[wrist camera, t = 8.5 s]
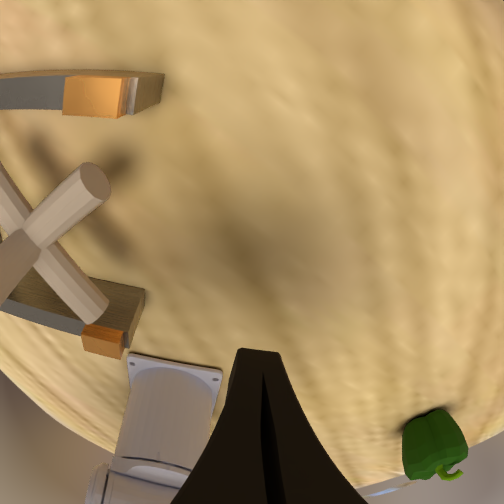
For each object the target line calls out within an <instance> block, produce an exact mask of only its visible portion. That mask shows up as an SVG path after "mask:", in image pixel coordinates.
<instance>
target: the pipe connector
mask: <svg viewBox="0 0 504 504" xmlns="http://www.w3.org/2000/svg"><path fill="white" fill-rule="evenodd" d="M110 194H111V188H110V183H109V181H108V179H107V177H106V175H105V173H104V172H103V171H102V170H101V169H100V168H99V167H98V166H97V165H95V164H93V163H91V162H86V163H82V164H81V165H80V166H79V167H78V168H77V169H76V170H74V171H73V172H72V173H71V174H70V175H69V176H68V177H67V178H66V179H65V180H64V181H62V182H61V183H60V184H59V185H58V186H57V187H56V188H55V189H54V190H53V191H52V192H51V193H50V194H49V195H48V196H47V197H46V198H45V199H44V200H43V201H42V202H41V203H40V204H39V205H38V206H37V207H36V208H35V209H34V210H33V208H32V207H31V206H30V204H29V203H28V202H27V200H26V199H25V197H24V196H23V195H22V193H21V192H20V190H19V189H18V187H17V186H16V185H15V183H14V182H13V180H12V179H11V177H10V176H9V174H8V173H7V171H6V170H5V168H4V166H3V165H2V163H1V162H0V225H1V226H2V227H3V229H4V230H5V231H6V233H7V234H8V235H9V236H8V237H7V238H6V239H5V240H4V241H3V242H2V243H1V244H0V306H1V305H2V304H3V302H4V301H5V300H6V298H7V297H8V296H9V295H10V293H11V292H12V291H13V289H14V288H15V287H16V286H17V284H18V283H19V282H20V281H21V279H22V278H23V277H24V276H25V275H26V273H27V272H28V271H29V270H30V269H31V267H32V266H33V267H34V268H35V269H36V270H37V272H38V273H39V274H40V275H41V276H42V277H43V279H44V280H45V281H46V282H47V283H48V284H49V285H50V287H51V288H52V289H53V290H54V291H55V292H56V293H57V294H58V295H59V296H60V298H61V299H62V300H63V301H64V302H65V303H66V304H67V305H68V306H69V307H70V308H71V309H72V310H73V311H74V312H75V313H76V314H77V315H78V316H79V317H80V318H81V319H82V320H83V321H84V322H85V323H86V324H87V325H88V324H91V323H93V322H94V321H96V320H97V319H98V318H99V317H100V316H101V315H102V314H103V313H104V311H105V310H106V308H107V307H108V304H109V300H108V299H107V298H106V297H105V295H104V294H103V293H102V292H101V291H100V290H99V289H98V288H97V287H96V286H95V285H94V283H93V282H92V281H91V280H90V279H89V278H88V277H87V276H86V274H85V273H84V272H83V271H82V270H81V269H80V267H79V266H78V265H77V264H76V263H75V262H74V260H73V259H72V258H71V257H70V256H69V254H68V253H67V252H66V251H65V250H64V248H63V247H62V246H61V245H60V244H59V242H58V241H57V240H58V239H59V238H60V237H61V236H63V235H64V234H65V233H66V232H67V231H69V230H70V229H71V228H72V227H73V226H75V225H76V224H77V223H78V222H79V221H81V220H82V219H83V218H84V217H86V216H87V215H88V214H89V213H91V212H92V211H93V210H95V209H96V208H97V207H98V206H100V205H101V204H102V203H104V202H105V201H106V200H108V199H109V197H110Z"/></svg>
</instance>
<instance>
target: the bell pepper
mask: <svg viewBox="0 0 504 504" xmlns="http://www.w3.org/2000/svg"><path fill="white" fill-rule="evenodd" d="M467 456H468V446H467V443H466V440H465V438H464V435H463V433H462V431H461V429H460V428H459V426H458V425H457V423H456V422H455V421H454V419H453V418H452V417H451V416H450V414H449V413H448V412H446V411H444V410H439V409H438V410H436V411H433V412H431V413H429V414H428V415H427V416H425V417H420V418H416V419H414V420H412V421H411V422H409V423H408V424H407V425H406V427H405V429H404V432H403V435H402V461H403V466H404V471H405V474H406V475H407V477H408V478H409V479H410V480H416V479H423V480H427V479H430V478H431V477H432V476H433V475H434V474H435V473H437V474H438V475H439V476H440V478H441V479H442V480H448V481H451V480H454V479H456V478H459V477H460V476H461V475H462V474H463V472H462V471H460V470H459V469H458V470H457V471H456V472H455V473H453V474H447V472H446V471H449V470H450V469H451V468H452V467H453V466H454V465H455V464H457V463H459V462H461V461H462V460H464V459H465V458H466V457H467Z"/></svg>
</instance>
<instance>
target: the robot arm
mask: <svg viewBox="0 0 504 504" xmlns="http://www.w3.org/2000/svg"><path fill="white" fill-rule="evenodd" d="M127 367H128V375H129V383H130V394H129V398H128V402H127V405H126V409H125V413H124V417H123V421H122V425H121V429H120V433H119V437H118V441H117V446H116V450H115V454H114V456H113V459H112V464H111V467H110V469H108V466H109V464H106V463H101V464H100V465H97V466H95V467H94V468H93V471H92V474H91V477H90V481H89V485H88V490H87V494H86V499H85V504H368V503H367V502H366V501H365V500H364V499H363V498H362V497H361V496H360V495H359V494H358V492H357V491H356V490H355V489H354V488H353V486H352V485H351V484H350V483H349V482H348V481H347V479H346V478H345V477H344V476H343V475H342V473H341V472H340V471H339V469H338V468H337V467H336V465H335V464H334V463H333V461H332V460H331V458H330V457H329V455H328V454H327V452H326V451H325V449H324V448H323V446H322V445H321V443H320V441H319V440H318V438H317V436H316V435H315V433H314V431H313V429H312V427H311V426H310V424H309V422H308V420H307V418H306V416H305V414H304V412H303V410H302V408H301V406H300V404H299V401H298V399H297V397H296V395H295V393H294V390H293V388H292V385H291V383H290V381H289V378H288V375H287V373H286V370H285V367H284V365H283V362H282V359H281V356H280V354H279V353H278V352H271V351H263V350H255V349H247V348H240V349H238V350H237V353H236V357H235V360H234V364H233V367H232V371H231V374H230V378H229V383H228V390H227V396H226V401H225V406H224V408H223V410H222V413H221V415H220V417H219V420H218V422H217V424H216V427H215V429H214V431H213V433H212V435H211V437H210V439H209V432H210V421H211V417H212V414H213V410H214V406H215V403H216V399H217V395H218V392H219V388H220V384H221V381H222V377H223V372H222V371H220V370H218V369H211V368H205V367H199V366H193V365H187V364H182V363H176V362H171V361H166V360H161V359H156V358H151V357H147V356H142V355H137V354H133V353H130V354H128V355H127Z"/></svg>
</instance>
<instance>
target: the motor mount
mask: <svg viewBox="0 0 504 504" xmlns="http://www.w3.org/2000/svg"><path fill="white" fill-rule="evenodd" d="M164 75H165V74H159V73H148V72H135V71H118V70H44V71H27V72H15V73H5V74H0V110H2V109H51V110H63V111H62V115H74V116H89V117H102V118H114V119H117V118H119V117H121V116H123V115H126V114H129V115H134V114H136V113H138V112H140V111H142V110H145V109H147V108H149V107H151V106H153V105H155V104H158V103H160V99H161V93H162V87H163V81H164ZM1 243H2V240H1V235H0V244H1ZM88 278H89V279H90V280H91V281H92V282H93V283H94V285H95V286H96V287H97V288H98V289H99V290H100V291H101V292H102V293H103V294H104V295H105V297H106V298H107V299H108V300H109V304H108V307H107V308H106V310H105V311H104V313H103V314H102V315H101V316H100V317H99V318H98V319H97V320H96V321H94V322H93V323H91V324H88V325H87V324H86V323H85V322H84V321H83V320H82V319H81V318H80V317H79V316H78V315H77V314H76V313H75V312H74V311H73V310H72V309H71V308H70V307H69V306H68V305H67V304H66V303H65V302H64V301H63V300H62V299H61V298H60V296H59V295H58V294H57V293H56V292H55V291H54V290H53V289H52V288H51V287H50V285H49V284H48V283H47V282H46V281H45V280H44V279H43V277H42V276H41V275H40V274H39V273H38V272H37V270H36V269H35V268H34V267H33V266H32V267H31V269H30V270H29V271H28V272H27V273H26V275H25V276H24V277H23V278H22V279H21V281H20V282H19V283H18V284H17V286H16V287H15V288H14V289H13V291H12V292H11V293H10V295H9V296H8V297H7V298H6V300H5V301H4V302H3V304H2V305H1V306H0V311H3V312H6V313H9V314H11V315H14V316H17V317H20V318H23V319H26V320H29V321H32V322H35V323H38V324H41V325H44V326H48V327H51V328H54V329H57V330H61V331H64V332H67V333H71V334H74V335H78V336H81V338H82V342H83V347H84V350H85V351H88V352H92V353H96V354H99V355H103V356H107V357H111V358H115V359H119V360H121V357H122V354H123V351H124V348H130V345H131V342H132V339H133V336H134V334H135V331H136V328H137V325H138V322H139V319H140V316H141V314H142V311H143V308H144V291H145V289H141V288H136V287H131V286H126V285H122V284H117V283H112V282H108V281H103V280H99V279H94V278H90V277H88Z"/></svg>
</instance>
